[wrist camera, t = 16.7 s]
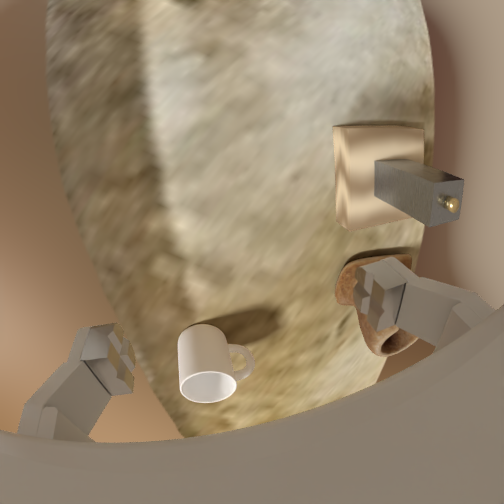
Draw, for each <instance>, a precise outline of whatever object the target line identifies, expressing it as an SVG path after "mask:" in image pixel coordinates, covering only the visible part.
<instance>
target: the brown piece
mask: <svg viewBox="0 0 504 504" xmlns="http://www.w3.org/2000/svg"><path fill="white" fill-rule="evenodd" d="M388 257H395V258H396V259H397V260H399V261H400V262H401V263H402V264H403V265H405V266H406V267H407V268H408V269H411V264H412V258H411V255H410V254H395V255H384V256H375V257H368V258H363V259H358V260H354V261H352V262H349V263H348V264H347V265H345V266H344V268H343V269H342V271H341V273H340V275H339V277H338V280H337V283H336V288H335V297H336V299H337V302H338V303H339V304H341V305H352V306H355V308H356V310H357V314H358V319H359V324H360V328H361V331H362V334H363V337H364V340H365V342H366V344H367V346H368V348H369V349H370V350H371V351H372V352H373V353H374V354H376V355H378V356H382V357H386V356H391V355H394V354H396V353H399V352H401V351H402V350H404V349H406V348H407V347H409V346H410V345H411V344H413V343H414V342H415V341H416V340H417V339H418V338H419V337H417V336H415V335H413V334H411V333H409V332H407V331H405V330H403V329H401V328H399V327H397V326H396V325H394V326H391V327H388V328H386V329H383V330H381V331H378V332H376V331H375V330H374V329H373V327H372V326H371V325H370V324H369V322H368V321H367V315H366V314H363V313H361V312H360V311H359V310H358V309H357V307H356V305H355V302H354V298H353V289H354V287H355V285H356V284H357V282H358V281H357V280H356V279H355V271H356V269H357V267H360V266H364V265H367V264H371V263H374V262H377V261H380V260H382V259H385V258H388Z"/></svg>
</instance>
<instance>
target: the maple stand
mask: <svg viewBox="0 0 504 504" xmlns="http://www.w3.org/2000/svg"><path fill="white" fill-rule="evenodd" d="M333 138H334V155H335V178H336V221H337V222H338V223H339V224H341V225H342V226H343V227H344V228H346V229H347V230H348V231H354V230H359V229H363V228H368V227H372V226H377V225H381V224H386V223H390V222H394V221H399V220H403V219H408V218H412V217H411V216H409V215H408V214H406V213H404V212H402V211H400V210H399V209H397V208H395V207H393V206H391V205H390V204H388V203H386V202H384V201H382V200H380V199H378V198H376V197H375V196H374V161H378V160H391V159H409V160H412V161H415V162H418V163H421V164H424V129H419V128H414V127H408V126H333Z"/></svg>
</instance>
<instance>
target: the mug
mask: <svg viewBox="0 0 504 504" xmlns="http://www.w3.org/2000/svg"><path fill="white" fill-rule="evenodd" d="M230 352H237V353H240V354H242V355H243V356H244V357H245V358H246V366H245V368H243V369H242V370H239V371H234V370H233V365H232V361H231V357H230ZM178 363H179V381H180V391H181V393H182V394H183V396H184V397H186V398H187V399H189V400H192V401H195V402H200V403H212V402H217V401H221V400H223V399H226V398H228V397H229V396H231V395H232V394H233V393H234V392H235V390H236V387H237V382H236V381H238V380H241V379H244V378H246V377H248V376H249V375H250V374H251V373H252V371H253V369H254V367H255V360H254V357H253V354H252V353H251V352H250V351H249V350H248V349H247V348H246V347H244V346H241V345H238V344H227V340H226V337H225V335H224V333H223V332H222V331H221V330H220V329H219V328H217V327H215V326H212V325H208V324H198V325H194V326H191V327H189V328H187V329H185V330H184V331H183V332H182V333H181V335H180V336H179V339H178Z"/></svg>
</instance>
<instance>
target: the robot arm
mask: <svg viewBox="0 0 504 504" xmlns="http://www.w3.org/2000/svg"><path fill="white" fill-rule="evenodd" d="M355 279H356V280H357V281H358V282H357V284H356V285H355V287H354V289H353V298H354V302H355V305H356V307H357V309H358V310H359V311H360V312H361V313H363V314H366V315H367V321H368V322H369V324H370V325H371V326H372V327H373V329H374V330H375V331H376V332H378V331H381V330H383V329H386V328H388V327H391V326H394V325H396V326H397V327H399V328H401V329H403V330H405V331H407V332H409V333H411V334H413V335H415V336H417V337H419V338H421V339H423V340H425V341H427V342H428V343H431V344H432V345H434V346H436V348H435V350H434V352H433V354H432V355H430V356H428V357H427V358H425V359H423V360H421V361H420V362H418V363H416V364H415V365H412V366H410V367H409V368H407V369H405V370H403V371H401V372H399V373H397V374H395V375H393V376H391V377H389V378H387V379H385V380H383V381H381V382H378V383H376V384H374V385H372V386H370V387H367V388H365V389H363V390H360V391H358V392H356V393H353V394H351V395H348V396H346V397H343V398H341V399H338V400H336V401H333V402H330V403H328V404H325V405H322V406H319V407H316V408H314V409H311V410H308V411H305V412H301V413H298V414H295V415H292V416H288V417H285V418H282V419H278V420H274V421H271V422H267V423H263V424H259V425H255V426H251V427H246V428H242V429H237V430H232V431H227V432H222V433H217V434H211V435H205V436H198V437H191V438H183V439H174V440H164V441H151V442H129V443H98V442H95V441H94V440H92V439H91V438H90V437H89V436H88V435H89V433H90V431H91V430H92V428H93V427H94V425H95V423H96V422H97V420H98V418H99V416H100V415H101V413H102V411H103V410H104V408H105V406H106V405H107V404H108V402H109V400H110V399H111V396H113V395H122V394H131V393H133V387H134V376H133V375H132V373H131V372H132V371H133V369H134V368H135V361H136V359H135V353H134V350H133V347H132V345H131V343H130V341H129V340H127V339H125V338H124V337H123V335H124V330H123V329H122V327H121V325H120V324H118V323H112V324H105V325H98V326H92V327H85V328H80V329H79V330H78V331H77V334H76V337H75V340H74V342H73V346H72V348H71V352H70V355H69V358H68V361H67V362H66V363H63V364H62V365H61V366H60V367H59V368H58V369H57V370H56V371H55V372H54V373H53V374H52V375H51V376H50V377H49V378H48V380H47V381H46V382H45V383H44V384H43V385H42V386H41V387H40V388H39V389H38V390H37V391H36V392H35V394H33V396H32V397H31V398H30V399H29V400H28V401H27V403H25V405H24V408H23V412H22V416H21V420H20V423H19V427H18V432H17V433H12V432H7V431H3V430H0V504H504V305H502V306H501V307H500V308H499V309H497V310H495V309H494V308H492V307H491V306H490V305H489V304H488V303H487V302H486V301H484V300H483V299H482V298H481V297H480V296H479V295H478V294H476V293H475V292H471V291H468V290H465V289H461V288H458V287H455V286H452V285H448V284H445V283H442V282H438V281H435V280H431V279H428V278H424V277H421V278H419V277H418V276H417V275H416V274H414V273H413V272H412V271H411V270H410V269H408V268H407V267H406V266H405V265H403V264H402V263H401V262H400V261H399V260H397V259H396V258H395V257H388V258H385V259H382V260H380V261H377V262H374V263H371V264H367V265H364V266H360V267H357V269H356V271H355Z"/></svg>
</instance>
